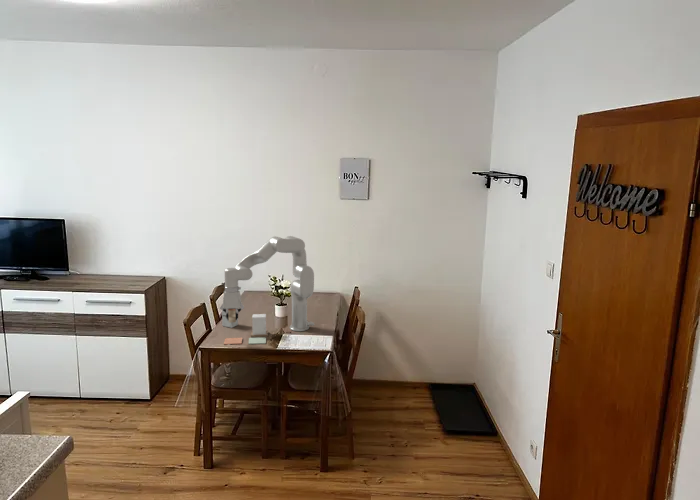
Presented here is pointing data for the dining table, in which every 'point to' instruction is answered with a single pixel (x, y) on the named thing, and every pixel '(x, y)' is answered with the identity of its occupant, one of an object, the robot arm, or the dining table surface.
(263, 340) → the sage pad
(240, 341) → the terracotta pad
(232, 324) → the supplement box
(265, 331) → the mounted unit
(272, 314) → the dining table surface
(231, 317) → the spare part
